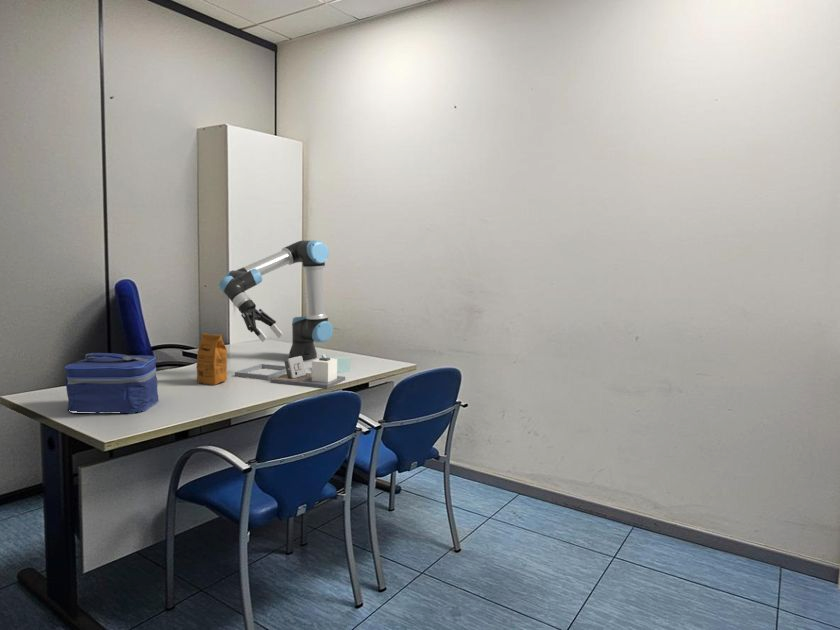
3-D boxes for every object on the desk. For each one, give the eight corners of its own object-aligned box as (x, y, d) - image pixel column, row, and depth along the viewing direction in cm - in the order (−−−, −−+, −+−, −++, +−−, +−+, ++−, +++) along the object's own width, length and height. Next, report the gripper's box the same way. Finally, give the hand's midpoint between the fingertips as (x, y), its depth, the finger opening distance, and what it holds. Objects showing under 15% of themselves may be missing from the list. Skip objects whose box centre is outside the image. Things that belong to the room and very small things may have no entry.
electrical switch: (292, 379, 255) (291, 358, 254) (284, 378, 257) (282, 358, 257) (306, 375, 263) (305, 355, 262) (298, 375, 265) (296, 355, 265)
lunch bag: (52, 415, 198) (49, 357, 195) (80, 399, 218) (78, 347, 216) (145, 414, 201) (143, 358, 199) (164, 399, 222) (163, 348, 220)
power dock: (291, 374, 271) (291, 351, 269) (345, 379, 262) (345, 356, 261) (271, 382, 254) (271, 357, 252) (327, 388, 245) (327, 362, 244)
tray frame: (261, 367, 285) (261, 363, 285) (293, 370, 279) (293, 366, 279) (234, 376, 264) (234, 372, 264) (268, 379, 259) (268, 375, 258)
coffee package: (210, 378, 258) (209, 331, 256) (230, 381, 253) (229, 333, 250) (192, 382, 250) (191, 333, 247) (213, 386, 244) (212, 336, 242)
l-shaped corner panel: (349, 372, 279) (349, 357, 278) (325, 373, 275) (325, 358, 274) (345, 367, 290) (345, 353, 289) (321, 368, 286) (322, 354, 285)
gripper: (254, 307, 278) (282, 339, 275) (223, 312, 254) (252, 347, 251) (264, 296, 276) (291, 329, 273) (233, 301, 252) (262, 336, 249)
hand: (272, 337), depth 262 cm, fingers open, 13 cm apart
